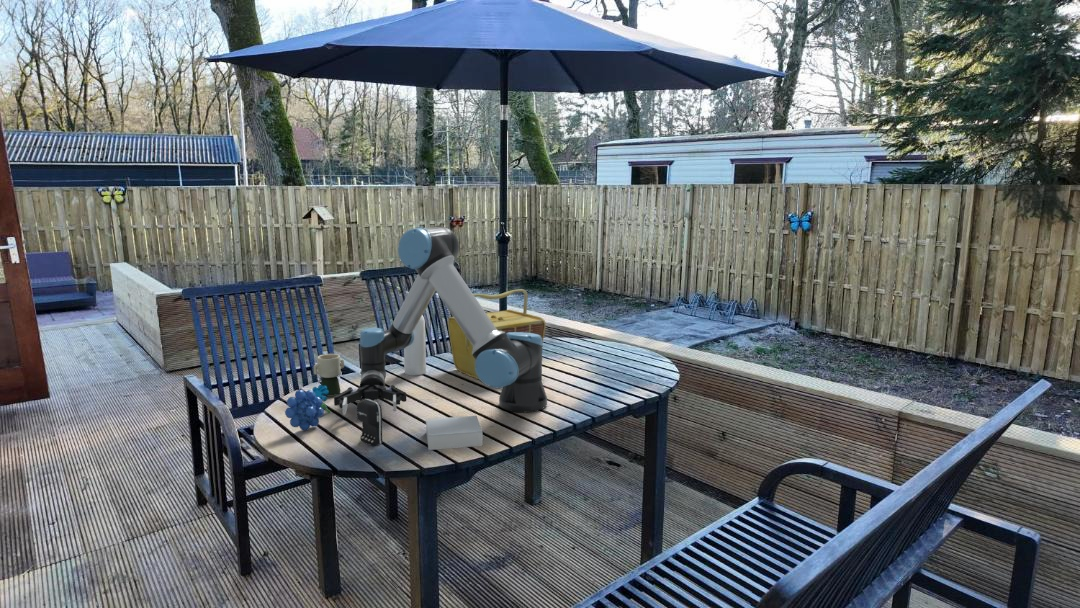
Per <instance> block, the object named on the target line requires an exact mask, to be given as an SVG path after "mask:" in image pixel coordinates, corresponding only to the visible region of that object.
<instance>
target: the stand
mask: <svg viewBox="0 0 1080 608" xmlns="http://www.w3.org/2000/svg"><path fill="white" fill-rule="evenodd" d="M425 430H426V431H425V432H426V433H425V434H426V441H427V448H428V451H431V450H433V451H434V450H444V449H457V448H458V449H459V448H468V447H469V448H472V447H482V446H483V430H482V427H481V423H480V421H479V418H478V416H477V415H469V416H468V415H467V416H465V415H464V416H454V417H453V416H452V417H438V418H437V417H436V418H426V419H425Z"/></svg>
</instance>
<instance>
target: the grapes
mask: <svg viewBox="0 0 1080 608" xmlns="http://www.w3.org/2000/svg"><path fill="white" fill-rule="evenodd" d="M286 401H287V402H286V404H287V406H288V407H287V408H286V409H285V410H284V415H285V417H287V418H288V419H290V420H289V424H290V426H291V427H293V428H300V430H301V431H308V430H309V429H310V427H317V426H318V425H319V424H320V419H319V418H322V417H323V416H324V414H325V410H323V409H322V408H321V407H320V406H321V405H322V403H324V401H323V400H322V399H321V398H320V397H316V395H315V392H314V391H313V390H312V389H308V390H306V391H305V390H303V389H298V390H296V392H295V393H294V396H289V397H288V398H287V400H286Z"/></svg>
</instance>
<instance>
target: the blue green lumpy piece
mask: <svg viewBox="0 0 1080 608" xmlns="http://www.w3.org/2000/svg"><path fill="white" fill-rule="evenodd" d="M311 390H312V391H314V392H315V395H316V397H320V398H321V399H322V401H323V403H322V405H321V406H320V407H321V408H322V409H323V410H324V412H326V413H328V414H331V410H330V409H328V406H327V405H326V404H325V403H324V402H326V401H327V399H328V397H327V396H326V395H327V394H328V392H329V391H328V390H327V387H326V386H325V385H324V386H322V385H321V384H319V385H318V387H317V386H314V387H312V389H311ZM324 390H325V391H324ZM324 394H326V395H324Z"/></svg>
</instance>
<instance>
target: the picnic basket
mask: <svg viewBox="0 0 1080 608" xmlns="http://www.w3.org/2000/svg"><path fill="white" fill-rule="evenodd" d="M514 293H523V295H524V296H523V310H522V311H517V310H514V309H506V310H500V311H493V312H492V311H491V312H485V313H486V314H487V316H488V317H489V319H490V320H491V321H492V323H493V324H494V326H495V327H496V329H497V330H498V331H503V332H505V333H509V332H524V333H533V334H538V335H540V336H541V338H542V345H543V342H544V338H545V333H546V327H547V323H546V321H545V319H544V318H543V317H541V316H538V315H534V314H531V313H530V314H529V313H527V311H528V298H529V297H528V296H529V295H528V292H527V290H525V289H524V288H523V289H513V290H508V291H505V292H503V293H500V294H485V293H473V295H474V296H475V298H477V297H479V298H482V299H485V300H498V299H504V298H506V297H509V296H510V295H512V294H514ZM447 328H448V334H449V341H450V348H451V353H452V359H453V360H452V361H453V364H454V367H455V368H456V370H457V371H458V372H460V373H462V374H465V375H467V376H470V377H471V378H474V379H477V380H480V379H479V378H478V376H477V374H476V371H475V367H476V365H475V361H476V360H475V358H474V357H473V355H472V351H473V346H472V344H471V343H470V341H469V340H468V338H467V337H466V335H465V334H464V332H463V331H462V329H461V328H460V326H459V325H458V323H457V322H456V320H455V319H454V317H453V316H450V317H448V319H447Z"/></svg>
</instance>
